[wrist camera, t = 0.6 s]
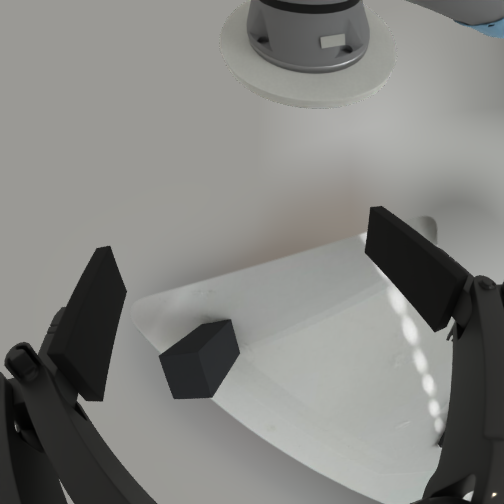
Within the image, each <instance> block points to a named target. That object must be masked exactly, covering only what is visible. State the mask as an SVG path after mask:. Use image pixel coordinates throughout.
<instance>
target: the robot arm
mask: <svg viewBox="0 0 504 504" xmlns="http://www.w3.org/2000/svg"><path fill="white" fill-rule="evenodd" d="M406 1H409V2H412V3H414V4H418V5H420V6H423V7H425V8H428V9H430V10H433V11H435V12H438V13H440V14H442V15H444V16H447V17H449V18H451V19H453V20H454V21H455V22H457V23H459V24H461V25H463V26H467V27H471V28H473V29H475V30H477V31H479V32H481V33H484V34H485V35H488V36H491V37H497V38H504V0H406ZM247 34H248V37H249V41H250V43H251V46H252V47H253V49H254V50H255V51H256V53H257V54H258V55H259V56H261V57H262V58H263V59H264V60H266V61H267V62H269V63H271V64H273V65H275V66H277V67H280V68H283V69H286V70H290V71H294V72H300V73H309V74H323V73H331V72H336V71H340V70H343V69H346V68H348V67H350V66H352V65H354V64H355V63H357V62H358V61H359V60H360V59H361V58H362V57H363V56H364V54H365V53H366V51H367V48H368V44H369V40H370V29H369V24H368V20H367V17H366V13H365V9H364V6H363V2H362V0H251V2H250V7H249V12H248V17H247ZM365 253H366V254H367V255H368V257H369V258H370V259H371V260H372V261H373V262H374V263H375V264H376V265H377V266H378V267H379V268H380V269H381V270H382V272H383V273H384V274H385V275H386V276H387V277H388V278H389V279H390V280H391V281H392V283H393V284H394V285H395V286H396V287H397V288H398V289H399V290H400V292H401V293H402V294H403V295H404V296H405V297H406V299H407V300H408V301H409V302H410V303H411V304H412V306H413V307H414V308H415V309H416V310H417V311H418V313H419V314H420V315H421V316H422V317H423V319H424V320H425V321H426V322H427V324H428V325H429V326H430V327H431V328H432V330H433V331H434V332H437V331H439V330H441V329H443V328H445V327H447V325H448V323H449V320H450V318H451V316H452V317H453V318H454V320H455V323H454V325H453V327H452V329H451V331H450V332H449V334H448V336H447V340H448V341H449V339H450V337H451V336H452V335H453V339H452V342H453V362H452V381H451V393H450V402H449V411H448V418H447V424H446V431H445V436H444V441H443V446H442V451H441V456H440V460H439V464H438V467H437V469H436V471H435V473H434V474H433V475H432V477H431V478H430V480H429V482H428V484H427V486H426V488H425V491H424V494H423V497H422V499H421V500H418V501H416V502H413V503H410V504H504V282H503V284H502V285H496V283H495V282H494V281H493V280H491V279H490V278H488V277H485V276H481V275H479V276H476V277H473V276H472V275H471V274H470V273H469V272H468V271H467V270H466V269H464V268H463V267H462V266H461V265H460V264H459V263H457V262H455V260H454V259H453V258H451V257H449V255H448V254H447V253H446V252H444V251H443V250H442V249H440V248H438V247H436V246H435V245H433V244H432V243H431V242H430V241H428V240H427V239H426V238H424V237H423V236H422V235H421V234H419V233H418V232H417V231H415V230H414V229H413V228H411V227H410V226H409V225H407V224H406V223H405V222H403V221H402V220H401V219H399V218H398V217H396V216H395V215H394V214H392V213H391V212H390V211H388V210H387V209H385V208H384V207H382V206H379V207H370V215H369V224H368V232H367V239H366V247H365ZM126 293H127V291H126V288H125V285H124V283H123V280H122V278H121V275H120V272H119V270H118V267H117V264H116V261H115V258H114V255H113V253H112V250H111V247H110V246H106V247H101V248H97V249H96V251H95V252H94V254H93V256H92V257H91V259H90V261H89V263H88V265H87V266H86V268H85V270H84V272H83V274H82V276H81V278H80V280H79V282H78V284H77V286H76V288H75V290H74V292H73V294H72V296H71V298H70V300H69V302H68V304H67V306H66V307H62V308H61V309H60V310H59V311H58V312H57V314H56V315H55V316H54V318H53V320H52V323H51V325H50V326H51V327H49V329H48V331H47V334H46V336H45V338H44V341H43V343H42V346H41V348H40V350H39V353H38V355H37V354H36V353H35V351H34V350H33V348H32V347H31V346H30V344H29V343H26V342H23V343H19V344H17V345H15V346H14V347H12V348H11V349H10V351H9V352H8V353H7V355H6V358H5V367H6V368H7V369H8V370H9V372H10V373H11V374H12V375H13V376H14V377H15V378H12V379H8V380H7V379H6V377H5V376H4V375H3V374H2V373H1V372H0V504H68V503H67V501H66V498H65V495H64V493H63V490H62V487H61V484H60V481H61V483H62V484H63V486H64V488H65V490H66V491H67V493H68V495H69V496H70V498H71V499H72V501H73V502H74V504H157V503H156V502H155V501H154V500H153V499H152V498H151V497H150V496H149V495H148V494H147V493H146V491H145V490H144V489H143V488H142V487H141V486H140V485H139V484H138V483H137V482H136V481H135V479H134V478H133V477H132V476H131V475H130V473H129V472H128V471H127V470H126V469H125V467H124V466H123V465H122V464H121V462H120V461H119V460H118V459H117V457H116V456H115V455H114V454H113V452H112V451H111V450H110V448H109V447H108V446H107V444H106V443H105V442H104V440H103V439H102V437H101V436H100V434H99V433H98V432H97V430H96V428H95V427H94V425H93V424H92V422H91V421H90V419H89V418H88V416H87V415H86V413H85V411H84V410H83V408H82V406H81V405H80V404H79V403H78V402H77V397H78V393H79V394H80V395H81V396H82V397H83V398H84V399H85V400H86V401H103V397H104V391H105V385H106V380H107V374H108V369H109V364H110V359H111V354H112V349H113V345H114V340H115V336H116V331H117V327H118V323H119V319H120V315H121V312H122V308H123V304H124V300H125V297H126ZM15 425H16V428H17V431H16V429H15ZM59 479H60V481H59ZM472 491H473V494H472V498H471V501H468V500H464V499H463V498H464V496H465V495H466V494H468V493H470V492H472Z"/></svg>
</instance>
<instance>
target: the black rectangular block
mask: <svg viewBox="0 0 504 504" xmlns="http://www.w3.org/2000/svg"><path fill="white" fill-rule="evenodd" d="M239 354H240V352H239V348H238V344H237V341H236V337H235V333H234V329H233V326H232V322H231V319H230V320H224V321H218V322H213V323H207V324H201V325H200V326H199V327H197V328H196V329H195V330H193V331H192V332H191V333H189V334H188V335H187V336H185V337H184V338H183V339H181V340H180V341H178V342H177V343H176V344H174V345H173V346H172V347H170V348H169V349H168V350H166V351H165V352H164V353H162V354H161V355H159V358H160V362H161V365H162V368H163V370H164V373H165V376H166V379H167V382H168V385H169V387H170V390H171V393H172V395H173V398H174V399H193V398H212V397H213V396H214V394H215V392H216V391H217V389H218V388H219V386H220V385H221V383H222V381H223V380H224V378H225V377H226V375H227V373H228V372H229V370H230V369H231V367H232V365H233V364H234V362H235V360H236V359H237V357H238V356H239Z"/></svg>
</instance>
